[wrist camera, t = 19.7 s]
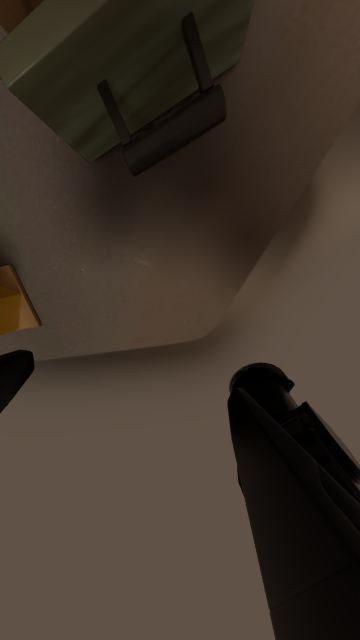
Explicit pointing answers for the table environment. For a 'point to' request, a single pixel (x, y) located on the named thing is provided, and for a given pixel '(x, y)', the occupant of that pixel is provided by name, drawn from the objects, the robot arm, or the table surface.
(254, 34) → the table surface
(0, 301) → the holder
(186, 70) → the drawer
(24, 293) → the coaster
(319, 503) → the robot arm
